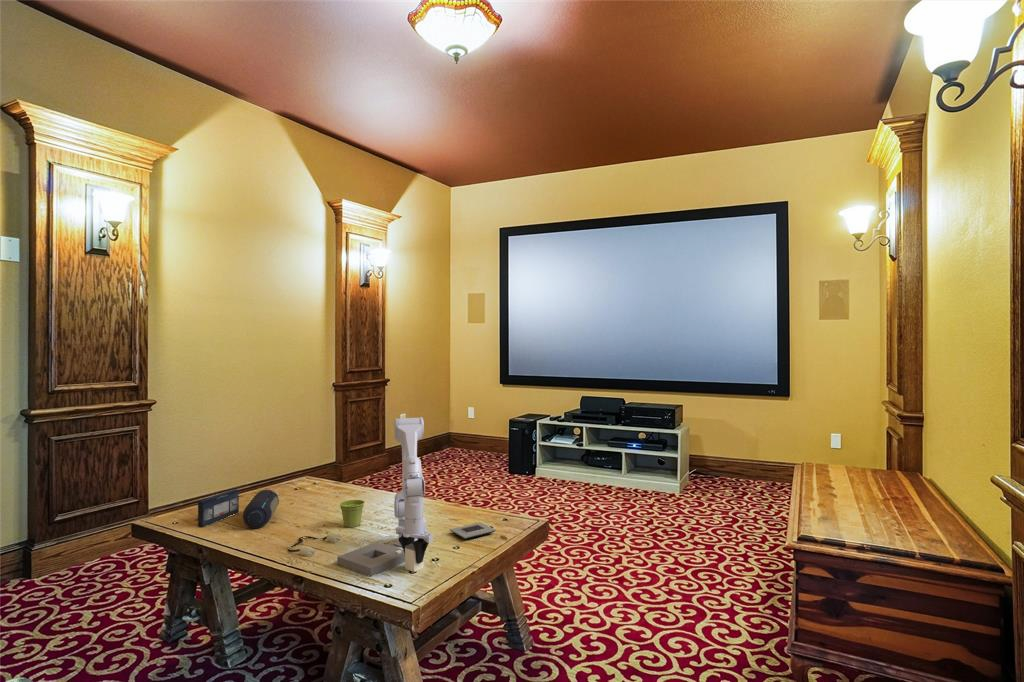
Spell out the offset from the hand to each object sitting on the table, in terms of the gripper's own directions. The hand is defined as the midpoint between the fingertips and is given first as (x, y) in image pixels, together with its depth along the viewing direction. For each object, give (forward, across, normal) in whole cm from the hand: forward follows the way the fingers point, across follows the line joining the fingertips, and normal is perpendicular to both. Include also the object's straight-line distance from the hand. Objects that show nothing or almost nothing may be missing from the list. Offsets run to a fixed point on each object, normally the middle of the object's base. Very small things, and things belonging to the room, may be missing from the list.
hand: (414, 560), depth 175 cm
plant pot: (+2, -49, +15) cm, 51 cm away
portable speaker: (+2, -84, -2) cm, 84 cm away
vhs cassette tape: (+3, -98, -11) cm, 99 cm away
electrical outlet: (+3, -5, +34) cm, 34 cm away
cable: (+3, -43, -8) cm, 44 cm away
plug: (+2, 0, 0) cm, 2 cm away
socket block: (+2, -14, -4) cm, 15 cm away
